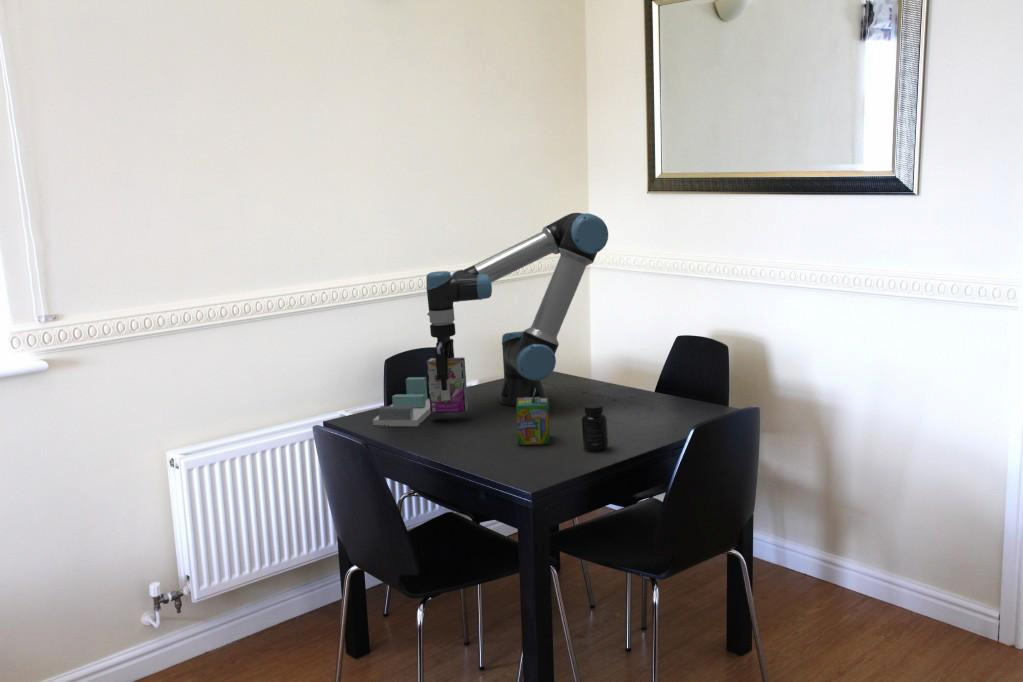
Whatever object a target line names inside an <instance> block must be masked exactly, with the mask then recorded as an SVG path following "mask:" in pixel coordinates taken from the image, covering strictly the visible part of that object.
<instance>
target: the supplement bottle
mask: <svg viewBox="0 0 1023 682" xmlns="http://www.w3.org/2000/svg"><path fill="white" fill-rule="evenodd" d="M603 408H604V407H603V405H602V404H600V403H588V404H585V405H584V415H583V416H582V417H581V437H582V438H581V440H582V449H583V450H584V451H586V452H588V453H589V452H590V453H600V452H604V451H606V450H607V449H608V447H609V437H608V436H609V435H608V418H607V416H606V415H605V414H604V409H603Z"/></svg>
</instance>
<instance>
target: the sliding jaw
mask: <svg viewBox="0 0 1023 682" xmlns="http://www.w3.org/2000/svg"><path fill="white" fill-rule="evenodd" d="M427 384H428V383H427V377H426V376H425V377H424V376H422V377H421V376H419V377H417V376H416V377H415V376H411V377H407V378H406V379H405V385H406V386H405V387H406V388H405V389H406V394H404V393H403V394H400V393H399V394H394V395H392V396H391V400H392V404H393V406H413V407H424V406H425V405H426V402H425V400H426V399H428V386H427Z"/></svg>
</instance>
